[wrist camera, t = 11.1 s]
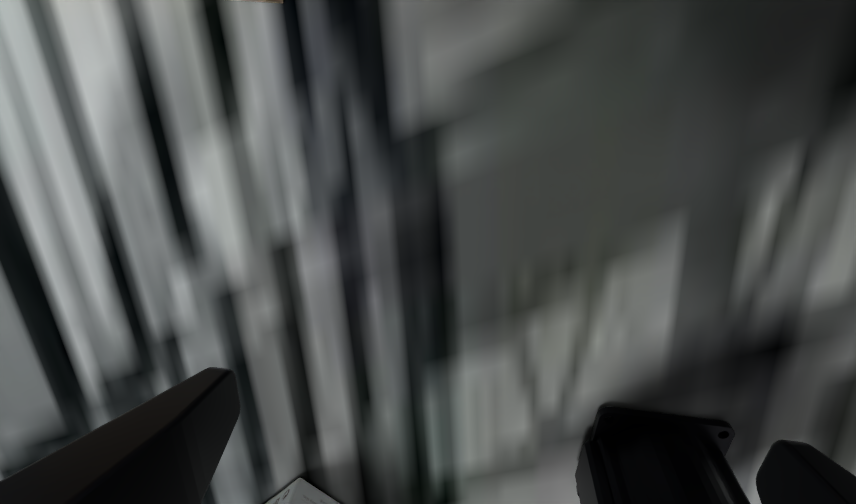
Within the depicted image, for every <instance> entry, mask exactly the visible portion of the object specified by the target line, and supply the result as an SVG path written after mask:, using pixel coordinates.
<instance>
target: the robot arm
mask: <svg viewBox="0 0 856 504" xmlns="http://www.w3.org/2000/svg"><path fill="white" fill-rule="evenodd" d="M239 413H240V399H239V393H238V387H237V381H236V376H235V373H234V372H233V371H232V370H230V369H224V368H217V367H210V368H207V369H205V370H203V371H201V372H199V373H197V374H196V375H194V376H192V377H190V378H188V379H186V380H185V381H183V382H181V383H179V384H177V385H175V386H174V387H172V388H170V389H168V390H166V391H164V392H163V393H161V394H159V395H157V396H155V397H153V398H152V399H150V400H148V401H146V402H144V403H143V404H141V405H139V406H137V407H135V408H133V409H132V410H130V411H128V412H126V413H124V414H122V415H121V416H119V417H117V418H115V419H113V420H111V421H110V422H108V423H106V424H104V425H102V426H100V427H99V428H97V429H95V430H93V431H91V432H90V433H88V434H86V435H84V436H82V437H80V438H79V439H77V440H75V441H73V442H71V443H69V444H68V445H66V446H64V447H62V448H60V449H58V450H57V451H55V452H53V453H51V454H49V455H48V456H46V457H44V458H42V459H40V460H38V461H37V462H35V463H33V464H31V465H29V466H27V467H26V468H24V469H22V470H20V471H18V472H16V473H15V474H13V475H11V476H9V477H7V478H5V479H4V480H2V481H0V504H201V502H202V499H203V497H204V495H205V493H206V491H207V489H208V486H209V484H210V482H211V479H212V477H213V475H214V473H215V470H216V468H217V466H218V463H219V461H220V459H221V456H222V454H223V452H224V450H225V447H226V445H227V443H228V440H229V438H230V436H231V433H232V431H233V429H234V427H235V424H236V422H237V420H238V417H239ZM607 416H611V417H610V418H605V417H607ZM722 431H723V432H722ZM734 435H735V433H734V430H733V429H732V427H731V426H730V424H729V423H727V422H724V421H717V420H710V419H702V418H694V417H686V416H678V415H670V414H662V413H655V412H647V411H639V410H631V409H623V408H615V407H604V408H601V409H600V410H599V411H598V413H597V416H596V420H595V423H594V427H593V430H592V434H591V437H590V440H587V441H586V442H585V443H584V445H583V448H582V452H581V455H580V459H579V463H578V466H577V470H576V473H575V477H576V483H577V486H576V487H577V494H578V496H579V498H580V503H581V504H750V502H749V500H748V498H747V496H746V495H745V493H744V491H743V489H742V487H741V485H740V484H739V482H738V480H737V478H736V476H735V475H734V473H733V471H732V469H731V467H730V466H729V464H728V462H727V460H726V458H725V455H726V453H727V451H728V448H729V446H730V444H731V442H732V440H733V438H734ZM756 486H757V491H758V494H759V497H760V500H761V503H762V504H856V476H854V475H853V474H851V473H850V472H848V471H847V470H846V469H844V468H843V467H841V466H840V465H838V464H837V463H835V462H834V461H833V460H831V459H830V458H828V457H827V456H825V455H824V454H823V453H821V452H820V451H818V450H817V449H815V448H814V447H812V446H811V445H809V444H807V443H803V442H796V441H788V440H778V441H776V442H775V443H773V445H772V446H771V448H770V450H769V452H768V454H767V456H766V457H765V459H764V461H763V463H762V465H761V467H760V469H759V471H758V473H757V477H756Z"/></svg>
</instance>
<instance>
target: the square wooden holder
mask: <svg viewBox="0 0 856 504" xmlns="http://www.w3.org/2000/svg"><path fill="white" fill-rule="evenodd" d="M234 1H251V2H269V3H283V0H234Z"/></svg>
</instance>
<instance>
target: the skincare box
mask: <svg viewBox="0 0 856 504" xmlns="http://www.w3.org/2000/svg"><path fill="white" fill-rule="evenodd" d="M265 504H340V503H338V502H337V501H335V500H334V499H332V498H331V497H329V496H328V495H326V494H325V493H323V492H322V491H320V490H318V489H317V488H315V487H314V486H312V485H311V484H309V483H308V482H306V481H305V480H303V479H302V478H298V479H297V480H295V481H294V482H293V483H292V484H290V485H289V486H288V487H287V488H286V489H284V490H283V491H282V492H280V493H279V494H278V495H276V496H275V497H273V498H272V499H270V500H269V501H268V502H267V503H265Z"/></svg>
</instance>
